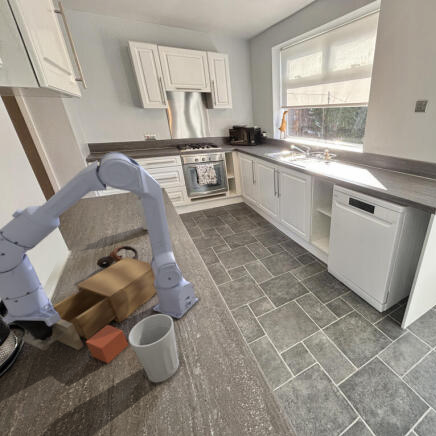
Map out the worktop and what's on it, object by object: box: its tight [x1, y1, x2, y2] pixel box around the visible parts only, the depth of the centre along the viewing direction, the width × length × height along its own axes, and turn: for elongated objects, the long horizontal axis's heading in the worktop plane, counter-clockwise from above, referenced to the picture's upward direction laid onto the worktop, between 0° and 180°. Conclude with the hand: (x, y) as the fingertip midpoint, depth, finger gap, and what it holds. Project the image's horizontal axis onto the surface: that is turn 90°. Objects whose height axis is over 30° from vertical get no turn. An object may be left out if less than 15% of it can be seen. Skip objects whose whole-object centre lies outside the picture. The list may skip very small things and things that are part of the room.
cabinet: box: [76, 256, 157, 323], centre depth 71 cm, size 15×13×9 cm
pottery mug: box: [96, 245, 139, 269], centre depth 85 cm, size 12×10×8 cm
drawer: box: [21, 289, 116, 351], centre depth 60 cm, size 18×11×7 cm, turn 161°
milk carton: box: [135, 196, 148, 231], centre depth 112 cm, size 7×7×19 cm
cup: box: [128, 313, 180, 383], centre depth 51 cm, size 8×8×12 cm
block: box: [85, 324, 129, 364], centre depth 56 cm, size 5×5×5 cm
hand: (45, 337), depth 54 cm, fingers closed, pressing on drawer
